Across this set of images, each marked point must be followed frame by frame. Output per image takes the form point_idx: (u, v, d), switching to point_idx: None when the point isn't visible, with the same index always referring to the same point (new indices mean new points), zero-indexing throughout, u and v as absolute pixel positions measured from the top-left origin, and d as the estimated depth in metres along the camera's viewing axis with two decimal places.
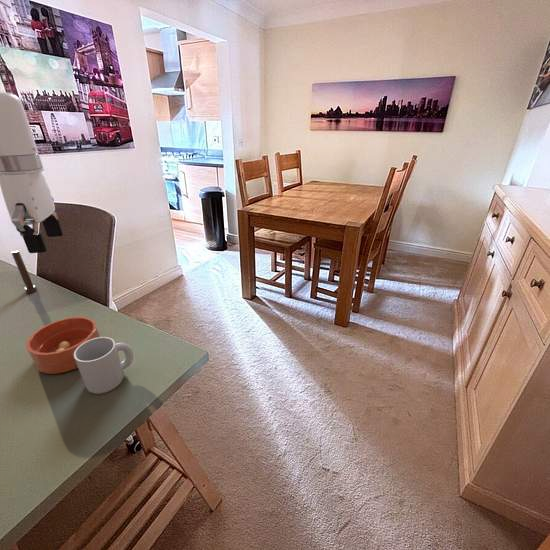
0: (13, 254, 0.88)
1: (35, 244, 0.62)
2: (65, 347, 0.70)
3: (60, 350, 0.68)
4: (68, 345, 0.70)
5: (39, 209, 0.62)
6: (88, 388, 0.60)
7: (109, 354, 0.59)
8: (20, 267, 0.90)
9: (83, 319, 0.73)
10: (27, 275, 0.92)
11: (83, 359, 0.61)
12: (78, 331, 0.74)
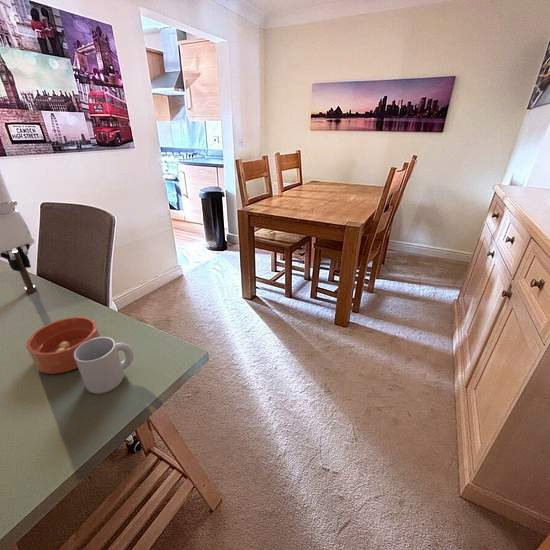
0: None
1: (13, 265, 0.88)
2: (65, 347, 0.70)
3: (60, 350, 0.68)
4: (68, 345, 0.70)
5: (3, 242, 0.83)
6: (88, 388, 0.60)
7: (109, 354, 0.59)
8: None
9: (83, 319, 0.73)
10: (27, 275, 0.92)
11: (83, 359, 0.61)
12: (78, 331, 0.74)
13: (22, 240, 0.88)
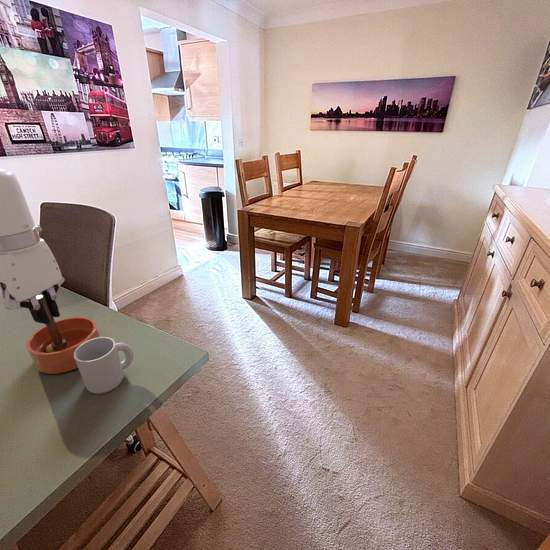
0: None
1: (36, 317, 0.62)
2: (47, 351, 0.69)
3: None
4: (46, 349, 0.69)
5: (25, 287, 0.57)
6: (88, 388, 0.60)
7: (109, 354, 0.59)
8: None
9: (83, 319, 0.73)
10: (55, 327, 0.66)
11: (83, 359, 0.61)
12: (78, 331, 0.74)
13: (49, 281, 0.62)
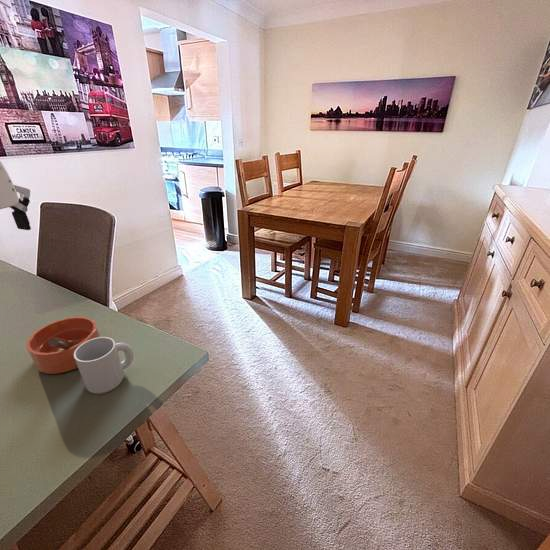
0: (59, 343, 0.59)
1: None
2: None
3: None
4: None
5: None
6: (88, 388, 0.60)
7: (109, 354, 0.59)
8: (67, 342, 0.63)
9: (83, 319, 0.73)
10: None
11: (83, 359, 0.61)
12: (78, 331, 0.74)
13: (4, 200, 0.62)
